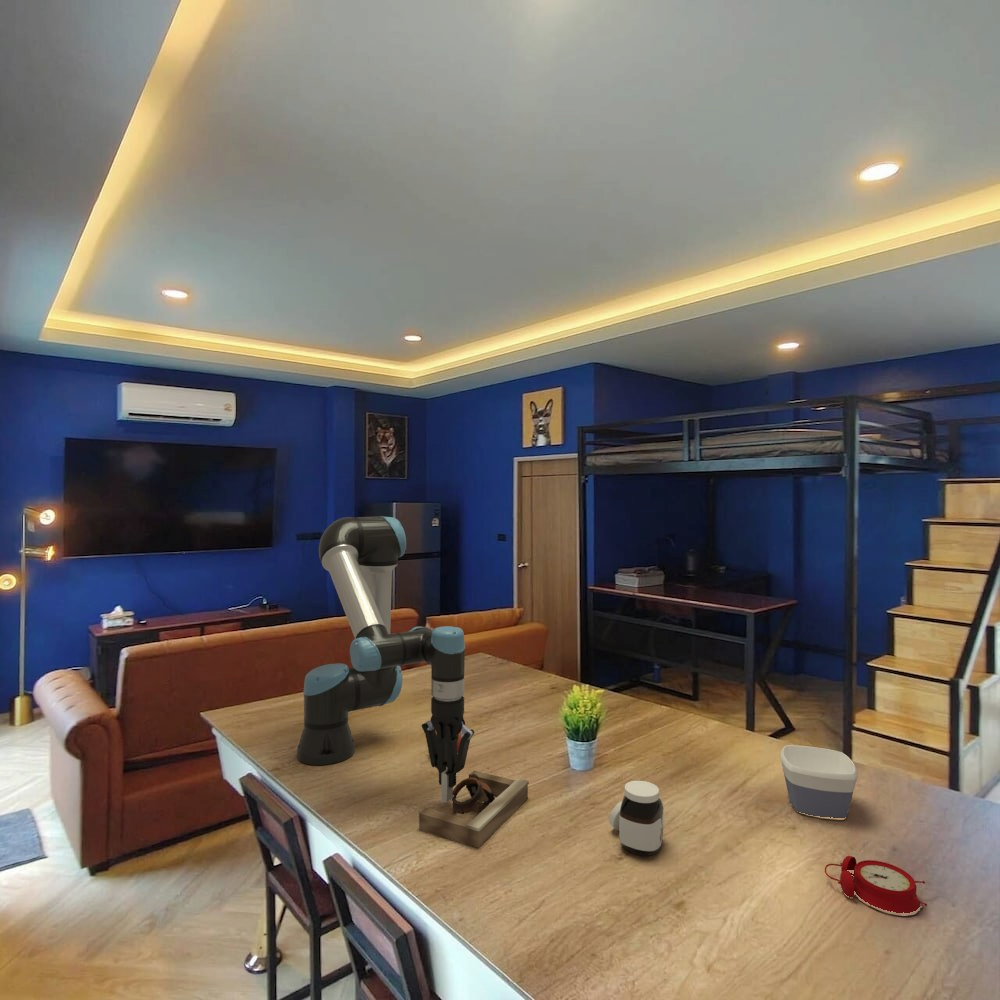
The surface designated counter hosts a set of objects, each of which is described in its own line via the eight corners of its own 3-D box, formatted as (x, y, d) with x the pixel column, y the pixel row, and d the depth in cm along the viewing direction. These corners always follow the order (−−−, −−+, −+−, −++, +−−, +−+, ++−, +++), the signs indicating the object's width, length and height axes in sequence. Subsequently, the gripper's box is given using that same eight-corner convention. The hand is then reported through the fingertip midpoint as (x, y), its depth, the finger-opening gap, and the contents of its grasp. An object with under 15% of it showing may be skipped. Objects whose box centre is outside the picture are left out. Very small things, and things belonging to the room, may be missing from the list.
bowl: (848, 797, 144) (848, 750, 144) (863, 831, 129) (864, 778, 129) (777, 787, 149) (777, 741, 149) (784, 818, 134) (784, 767, 134)
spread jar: (652, 864, 117) (652, 803, 117) (597, 846, 123) (597, 788, 123) (670, 835, 127) (670, 779, 127) (618, 820, 133) (619, 766, 133)
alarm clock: (930, 907, 100) (829, 858, 108) (920, 941, 101) (820, 890, 108) (927, 874, 109) (833, 831, 116) (917, 905, 109) (825, 860, 117)
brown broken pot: (503, 822, 133) (487, 794, 131) (464, 841, 133) (447, 814, 131) (495, 783, 145) (480, 757, 142) (459, 801, 145) (444, 776, 142)
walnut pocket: (418, 830, 129) (418, 810, 129) (474, 784, 150) (474, 767, 150) (478, 848, 122) (478, 828, 122) (528, 798, 143) (528, 780, 143)
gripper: (414, 696, 139) (414, 800, 139) (463, 705, 133) (463, 814, 133) (433, 687, 146) (432, 786, 146) (480, 696, 140) (480, 799, 140)
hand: (447, 799), depth 139 cm, fingers closed
